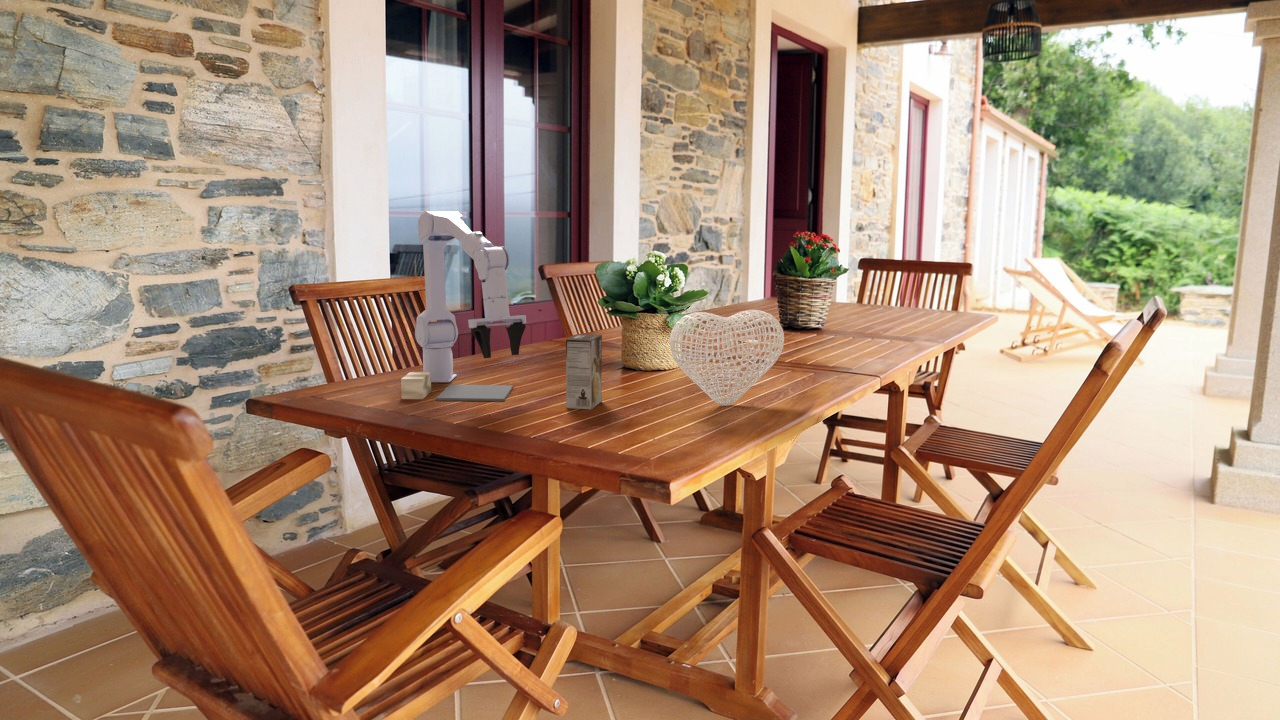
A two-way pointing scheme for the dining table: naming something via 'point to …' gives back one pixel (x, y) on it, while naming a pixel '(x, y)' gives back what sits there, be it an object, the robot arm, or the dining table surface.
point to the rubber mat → (475, 393)
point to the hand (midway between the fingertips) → (501, 356)
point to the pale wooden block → (416, 385)
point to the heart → (727, 320)
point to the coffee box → (583, 371)
